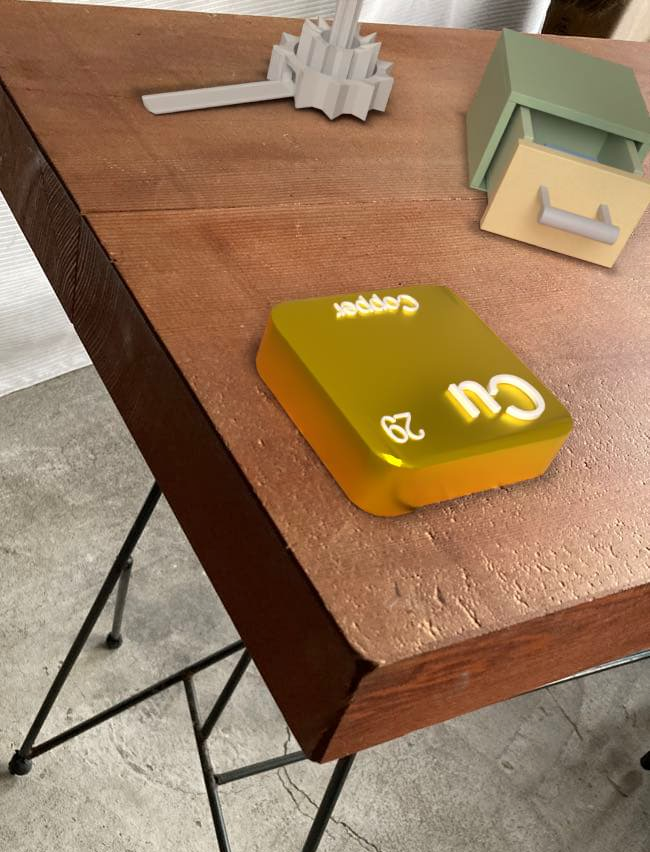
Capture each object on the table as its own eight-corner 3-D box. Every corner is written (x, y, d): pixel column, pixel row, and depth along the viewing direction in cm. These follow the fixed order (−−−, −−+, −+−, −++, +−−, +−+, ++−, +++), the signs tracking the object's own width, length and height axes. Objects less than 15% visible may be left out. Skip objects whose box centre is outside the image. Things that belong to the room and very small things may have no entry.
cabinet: (601, 234, 86) (657, 136, 80) (466, 193, 85) (511, 90, 79) (584, 160, 96) (632, 68, 90) (463, 123, 95) (503, 26, 89)
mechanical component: (132, 111, 83) (153, -88, 72) (320, 59, 97) (362, -114, 86) (225, 176, 79) (263, -24, 68) (407, 111, 93) (463, -63, 82)
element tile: (424, 330, 69) (450, 272, 66) (556, 478, 62) (593, 421, 58) (242, 356, 62) (260, 293, 59) (365, 527, 55) (395, 466, 51)
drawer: (618, 301, 77) (669, 218, 72) (481, 260, 76) (523, 173, 71) (592, 191, 90) (634, 114, 85) (475, 155, 89) (510, 75, 84)
